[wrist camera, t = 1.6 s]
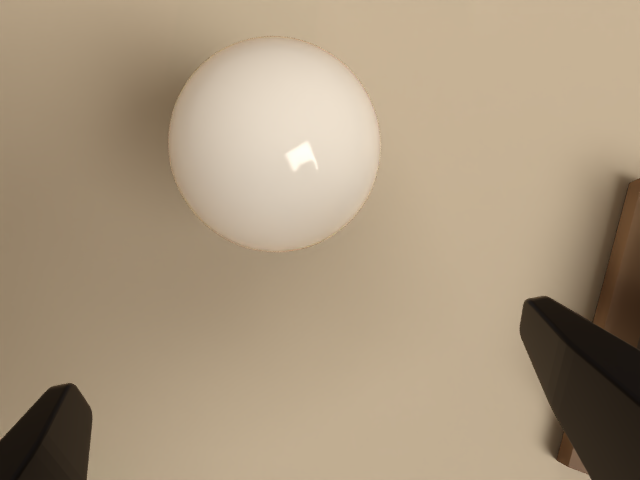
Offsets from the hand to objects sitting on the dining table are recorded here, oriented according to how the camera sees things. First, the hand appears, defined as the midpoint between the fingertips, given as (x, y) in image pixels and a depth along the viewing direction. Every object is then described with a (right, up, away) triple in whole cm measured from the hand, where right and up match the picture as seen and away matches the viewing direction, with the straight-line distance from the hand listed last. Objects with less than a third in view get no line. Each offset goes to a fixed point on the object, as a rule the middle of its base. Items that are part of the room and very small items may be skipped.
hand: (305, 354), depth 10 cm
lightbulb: (-1, +4, +13) cm, 14 cm away
